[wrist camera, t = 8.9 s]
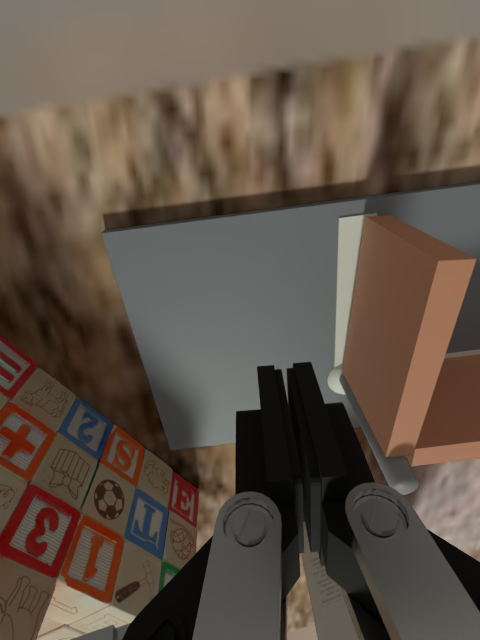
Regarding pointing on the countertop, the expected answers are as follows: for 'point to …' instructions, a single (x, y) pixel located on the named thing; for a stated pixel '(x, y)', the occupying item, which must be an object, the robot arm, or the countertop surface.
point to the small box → (326, 599)
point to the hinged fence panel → (400, 336)
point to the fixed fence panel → (452, 415)
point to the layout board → (266, 298)
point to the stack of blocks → (80, 512)
